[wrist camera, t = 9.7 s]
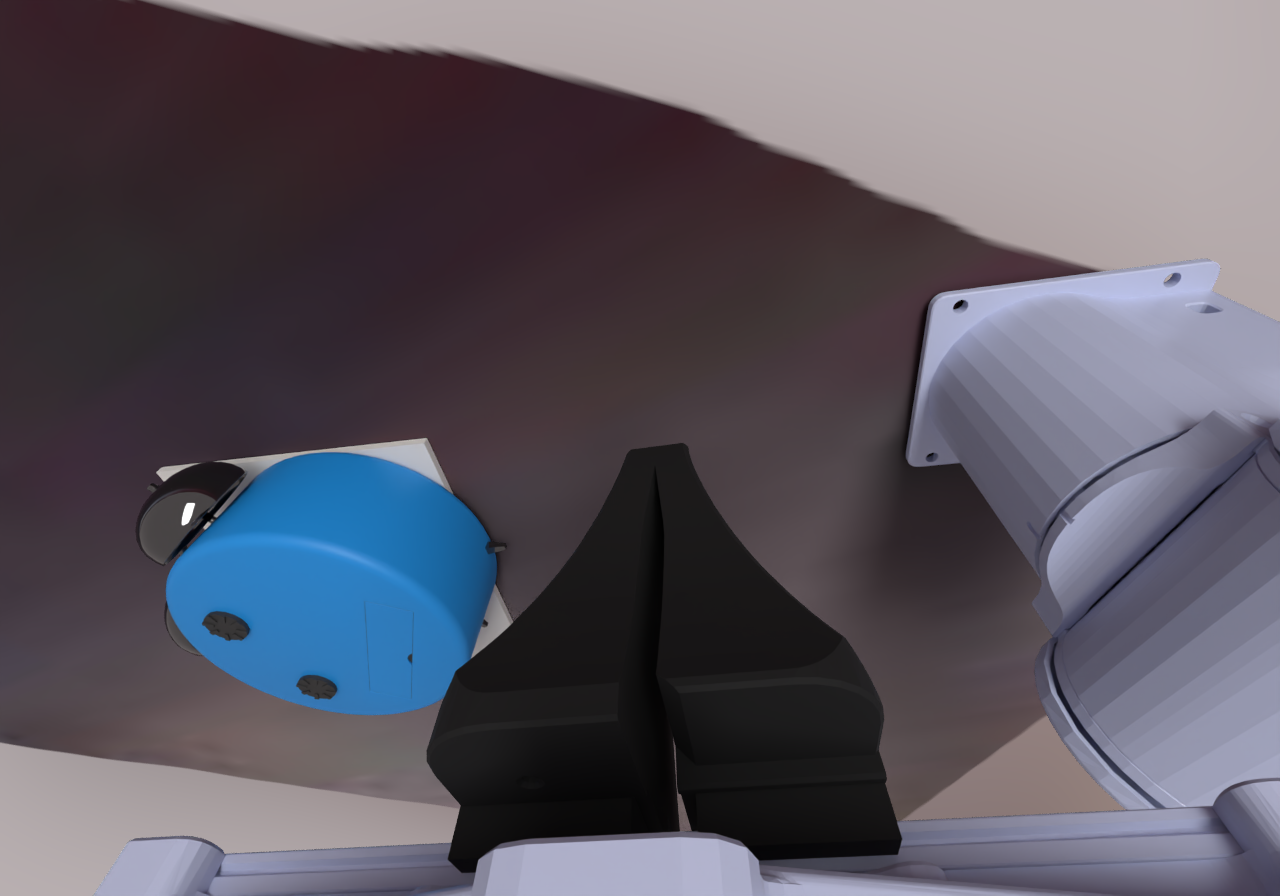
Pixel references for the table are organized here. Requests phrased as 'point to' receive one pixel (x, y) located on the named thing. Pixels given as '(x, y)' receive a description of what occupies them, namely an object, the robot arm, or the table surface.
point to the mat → (400, 452)
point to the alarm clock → (323, 578)
